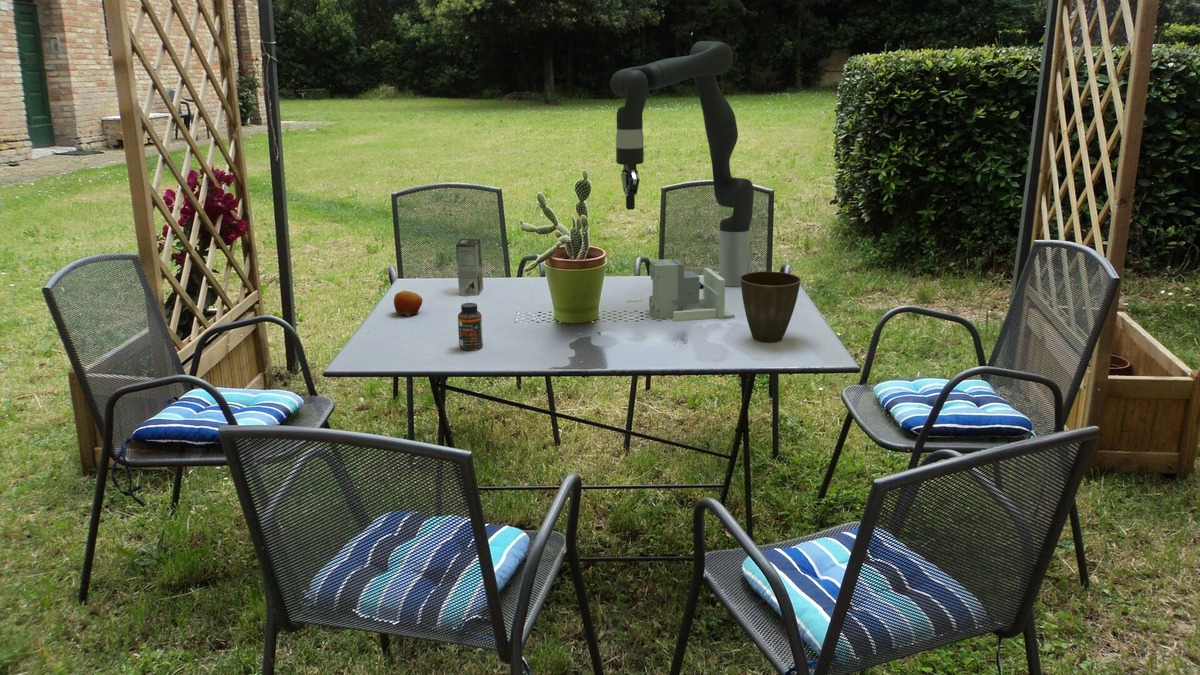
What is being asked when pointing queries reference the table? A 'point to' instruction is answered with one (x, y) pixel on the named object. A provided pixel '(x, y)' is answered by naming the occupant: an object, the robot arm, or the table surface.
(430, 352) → the table surface
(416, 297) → the fruit
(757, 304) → the plant pot
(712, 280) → the rail bracket
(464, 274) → the coffee box
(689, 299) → the circuit breaker
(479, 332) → the supplement bottle
